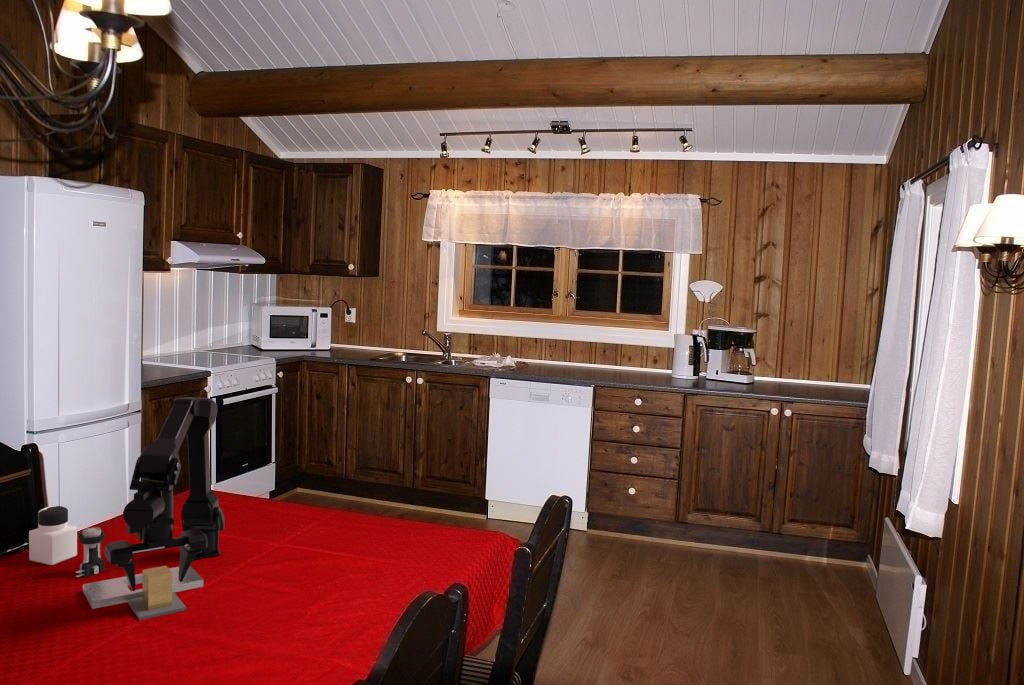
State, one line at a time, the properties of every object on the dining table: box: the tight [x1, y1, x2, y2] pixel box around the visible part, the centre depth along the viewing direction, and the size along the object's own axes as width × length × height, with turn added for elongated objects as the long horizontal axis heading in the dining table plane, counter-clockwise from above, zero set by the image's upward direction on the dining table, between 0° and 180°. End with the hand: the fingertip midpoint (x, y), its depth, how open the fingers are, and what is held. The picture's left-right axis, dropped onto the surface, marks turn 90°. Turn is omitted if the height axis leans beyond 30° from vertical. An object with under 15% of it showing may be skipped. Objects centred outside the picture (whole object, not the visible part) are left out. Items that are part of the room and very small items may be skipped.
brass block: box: [141, 565, 172, 611], centre depth 167 cm, size 5×5×7 cm
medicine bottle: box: [28, 505, 78, 566], centre depth 189 cm, size 7×7×12 cm
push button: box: [75, 526, 106, 578], centre depth 182 cm, size 7×5×10 cm
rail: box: [82, 565, 204, 610], centre depth 176 cm, size 22×10×2 cm, turn 128°
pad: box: [127, 592, 187, 621], centre depth 168 cm, size 9×9×1 cm
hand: (157, 585), depth 167 cm, fingers open, 9 cm apart
